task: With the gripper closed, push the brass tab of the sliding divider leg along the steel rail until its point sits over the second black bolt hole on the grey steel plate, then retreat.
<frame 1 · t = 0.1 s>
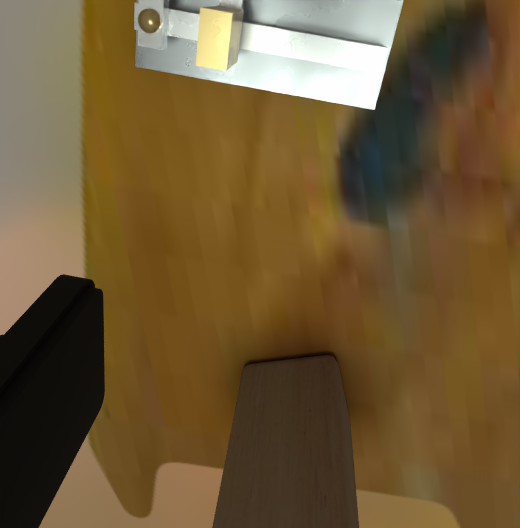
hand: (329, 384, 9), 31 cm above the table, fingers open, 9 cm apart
wooden block: (297, 390, 51), on the table
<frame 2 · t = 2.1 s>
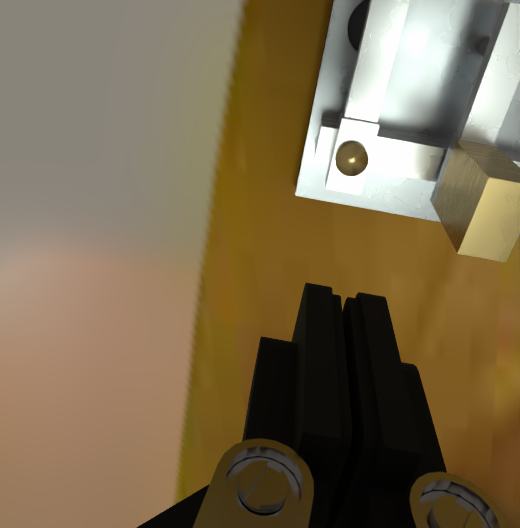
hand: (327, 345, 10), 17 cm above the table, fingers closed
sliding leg: (493, 124, 19), point 5 cm above the table, slide at -2.0 cm
bolt plate: (499, 106, 23), on the table
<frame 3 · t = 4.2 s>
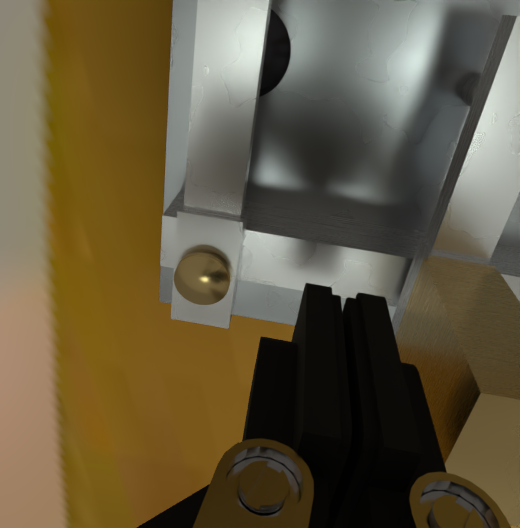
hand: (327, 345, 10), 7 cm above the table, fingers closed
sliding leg: (487, 238, 10), point 5 cm above the table, slide at -0.9 cm, touching gripper
bolt plate: (462, 171, 15), on the table
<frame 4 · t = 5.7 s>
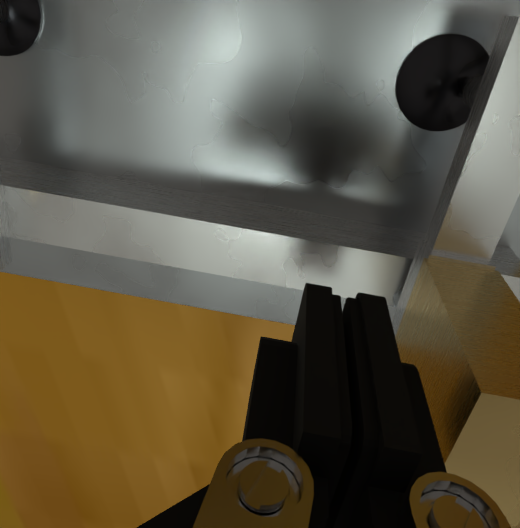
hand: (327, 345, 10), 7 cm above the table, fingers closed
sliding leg: (488, 239, 10), point 5 cm above the table, slide at 5.9 cm, touching gripper
bolt plate: (248, 134, 15), on the table
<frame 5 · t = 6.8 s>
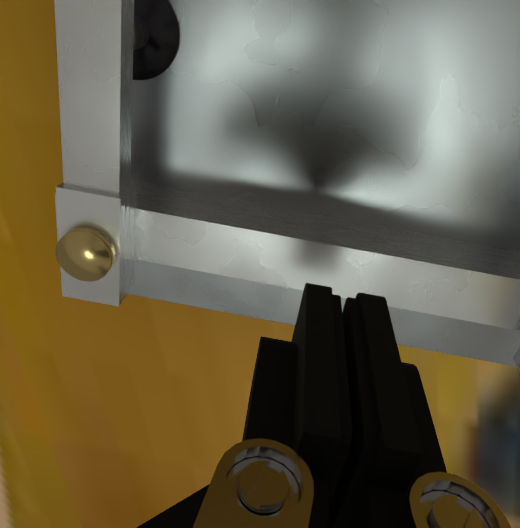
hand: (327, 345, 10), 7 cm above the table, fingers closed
bolt plate: (364, 156, 15), on the table
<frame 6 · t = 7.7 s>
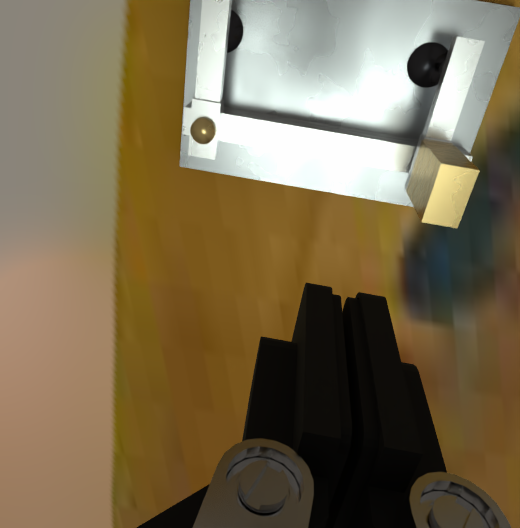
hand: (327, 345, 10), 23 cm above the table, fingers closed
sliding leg: (447, 126, 25), point 5 cm above the table, slide at 5.9 cm
bolt plate: (332, 92, 30), on the table
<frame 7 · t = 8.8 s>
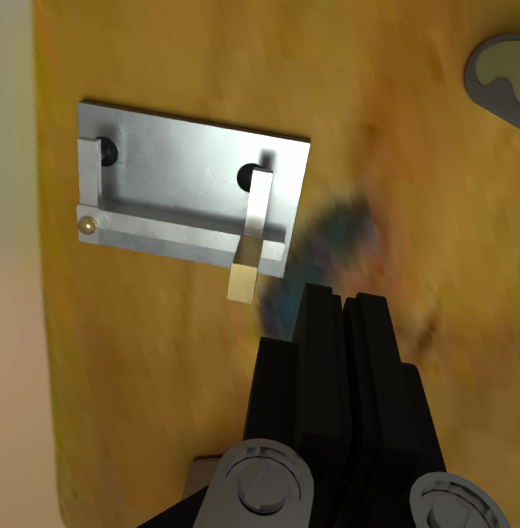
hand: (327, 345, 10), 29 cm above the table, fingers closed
spray bottle: (497, 71, 34), on the table
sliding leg: (253, 229, 36), point 5 cm above the table, slide at 5.9 cm
wooden block: (240, 479, 58), on the table
bolt plate: (190, 191, 40), on the table
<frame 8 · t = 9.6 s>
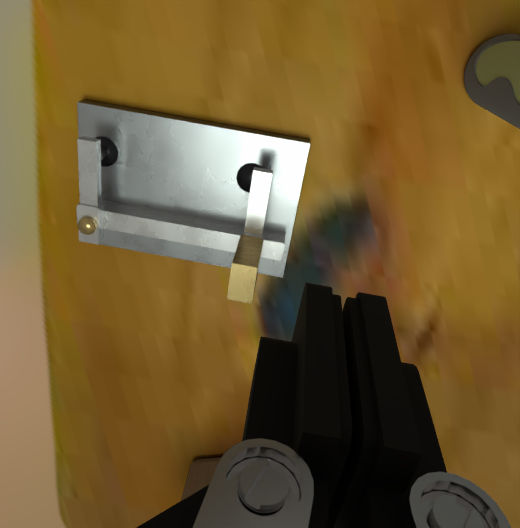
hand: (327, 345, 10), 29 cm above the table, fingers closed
spray bottle: (497, 71, 34), on the table
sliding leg: (253, 229, 36), point 5 cm above the table, slide at 5.9 cm
wooden block: (240, 479, 58), on the table
bolt plate: (190, 191, 40), on the table
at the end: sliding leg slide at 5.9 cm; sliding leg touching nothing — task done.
